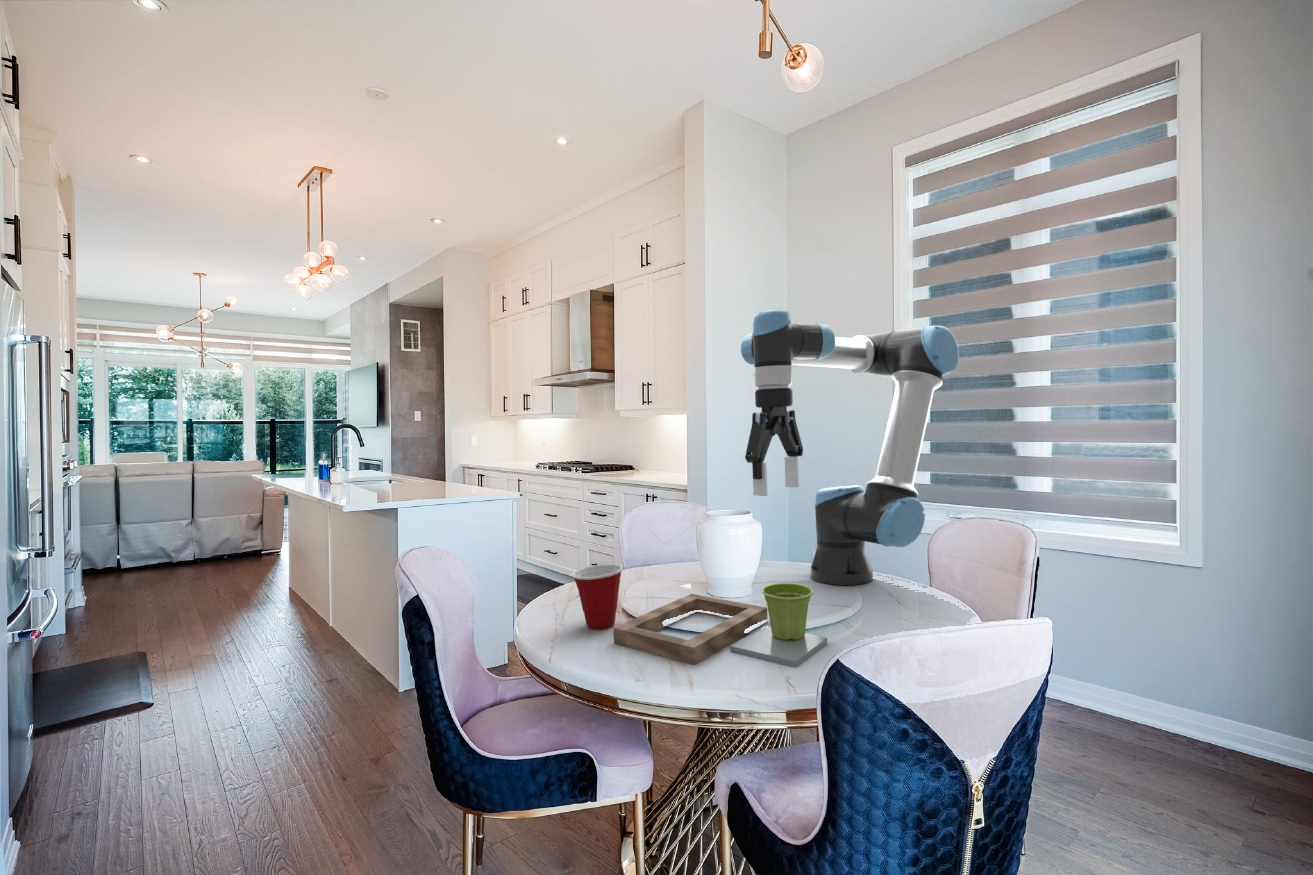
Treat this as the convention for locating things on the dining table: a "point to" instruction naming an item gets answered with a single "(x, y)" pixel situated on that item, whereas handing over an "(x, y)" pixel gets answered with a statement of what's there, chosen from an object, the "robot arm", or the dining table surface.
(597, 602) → the plastic cup
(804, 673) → the dining table surface
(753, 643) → the slate coaster
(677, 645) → the open rectangular wooden frame
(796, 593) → the plant pot
